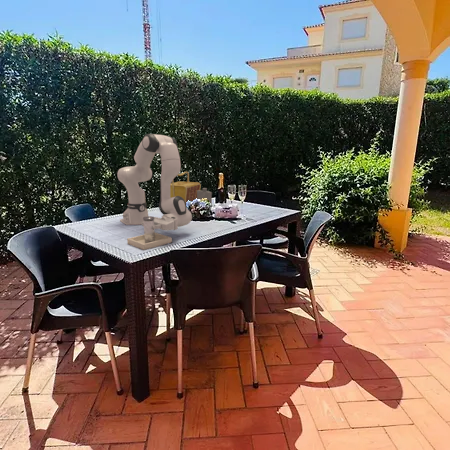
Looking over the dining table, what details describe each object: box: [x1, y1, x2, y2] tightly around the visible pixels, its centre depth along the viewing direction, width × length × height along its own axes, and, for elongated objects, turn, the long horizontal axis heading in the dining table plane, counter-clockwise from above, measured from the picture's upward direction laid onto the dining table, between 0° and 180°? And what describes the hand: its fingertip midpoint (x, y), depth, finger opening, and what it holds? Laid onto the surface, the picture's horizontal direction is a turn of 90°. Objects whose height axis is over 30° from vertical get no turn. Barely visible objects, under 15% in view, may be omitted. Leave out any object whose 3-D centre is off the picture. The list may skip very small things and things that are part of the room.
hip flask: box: [197, 187, 213, 205], centre depth 247 cm, size 16×4×20 cm, turn 45°
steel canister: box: [143, 215, 156, 243], centre depth 169 cm, size 6×6×14 cm
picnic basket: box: [170, 171, 201, 203], centre depth 273 cm, size 29×26×30 cm
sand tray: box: [127, 232, 173, 251], centre depth 171 cm, size 16×18×3 cm
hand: (147, 226), depth 168 cm, fingers open, 8 cm apart
